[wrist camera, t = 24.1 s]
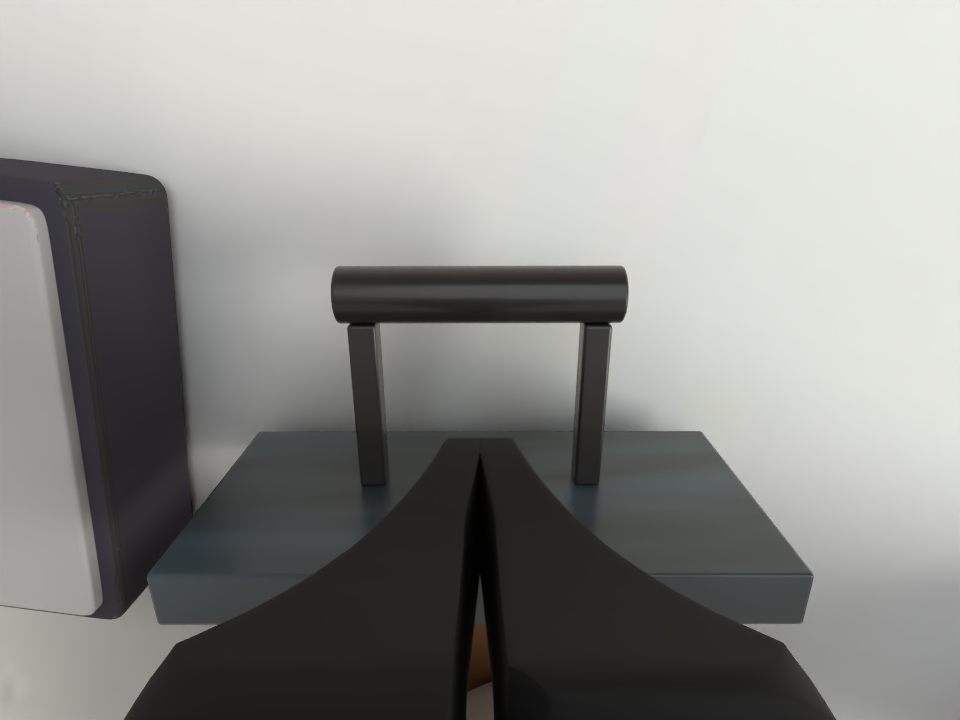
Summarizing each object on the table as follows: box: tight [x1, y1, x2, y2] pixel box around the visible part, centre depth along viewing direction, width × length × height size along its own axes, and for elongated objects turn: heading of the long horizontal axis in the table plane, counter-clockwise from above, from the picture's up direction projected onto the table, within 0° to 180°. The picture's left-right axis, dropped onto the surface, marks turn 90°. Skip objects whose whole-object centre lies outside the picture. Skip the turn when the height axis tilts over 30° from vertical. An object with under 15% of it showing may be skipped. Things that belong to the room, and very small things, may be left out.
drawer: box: [147, 266, 814, 692], centre depth 15 cm, size 18×12×6 cm
